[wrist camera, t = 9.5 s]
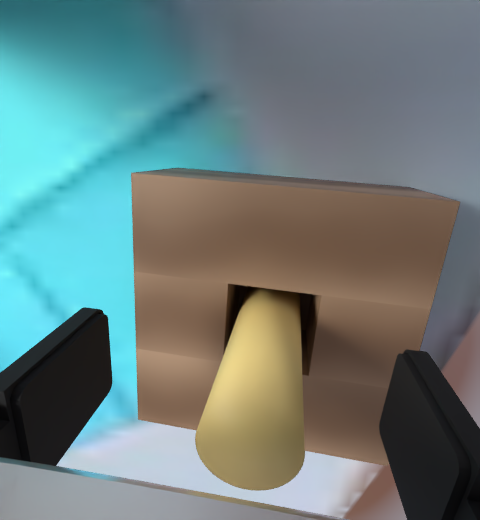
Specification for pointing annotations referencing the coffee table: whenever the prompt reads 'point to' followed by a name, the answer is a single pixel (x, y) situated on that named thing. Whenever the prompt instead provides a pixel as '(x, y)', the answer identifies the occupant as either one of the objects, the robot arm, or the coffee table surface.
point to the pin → (257, 396)
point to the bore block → (284, 289)
